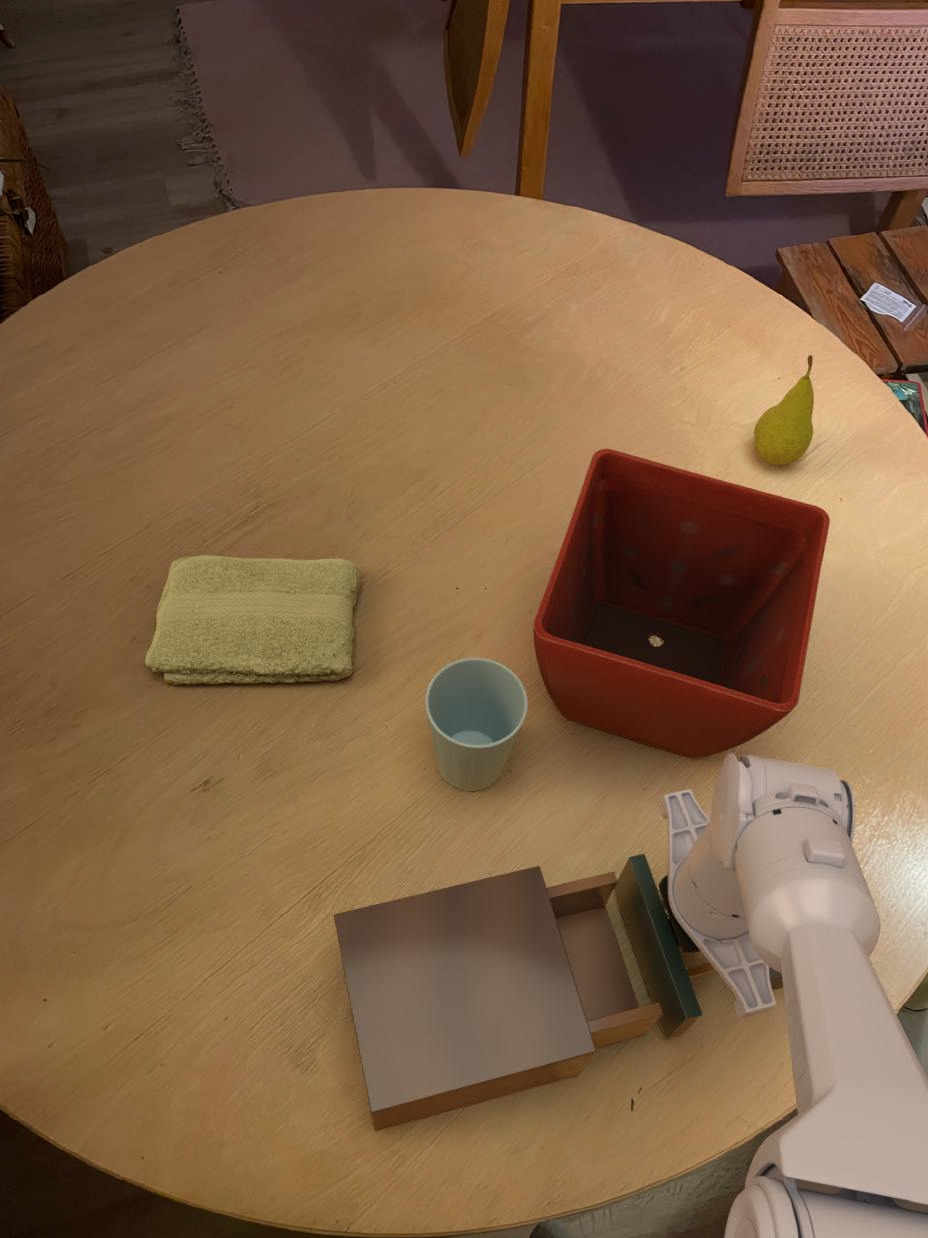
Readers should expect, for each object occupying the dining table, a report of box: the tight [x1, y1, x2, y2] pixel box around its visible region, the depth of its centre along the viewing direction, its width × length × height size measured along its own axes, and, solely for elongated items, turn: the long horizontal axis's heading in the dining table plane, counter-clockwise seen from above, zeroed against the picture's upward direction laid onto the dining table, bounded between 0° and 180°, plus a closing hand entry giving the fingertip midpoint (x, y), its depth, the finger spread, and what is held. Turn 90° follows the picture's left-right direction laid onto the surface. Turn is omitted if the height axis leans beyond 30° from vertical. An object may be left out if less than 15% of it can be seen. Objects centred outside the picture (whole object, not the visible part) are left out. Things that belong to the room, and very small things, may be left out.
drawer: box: [546, 853, 719, 1049], centre depth 73 cm, size 18×11×7 cm, turn 104°
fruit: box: [753, 354, 815, 466], centre depth 101 cm, size 6×6×12 cm
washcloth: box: [144, 554, 362, 686], centre depth 91 cm, size 13×18×3 cm
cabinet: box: [333, 865, 597, 1132], centre depth 72 cm, size 15×13×9 cm
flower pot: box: [532, 448, 831, 759], centre depth 84 cm, size 19×19×17 cm
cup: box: [424, 657, 529, 792], centre depth 82 cm, size 8×8×10 cm
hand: (685, 934), depth 74 cm, fingers closed, pressing on drawer
